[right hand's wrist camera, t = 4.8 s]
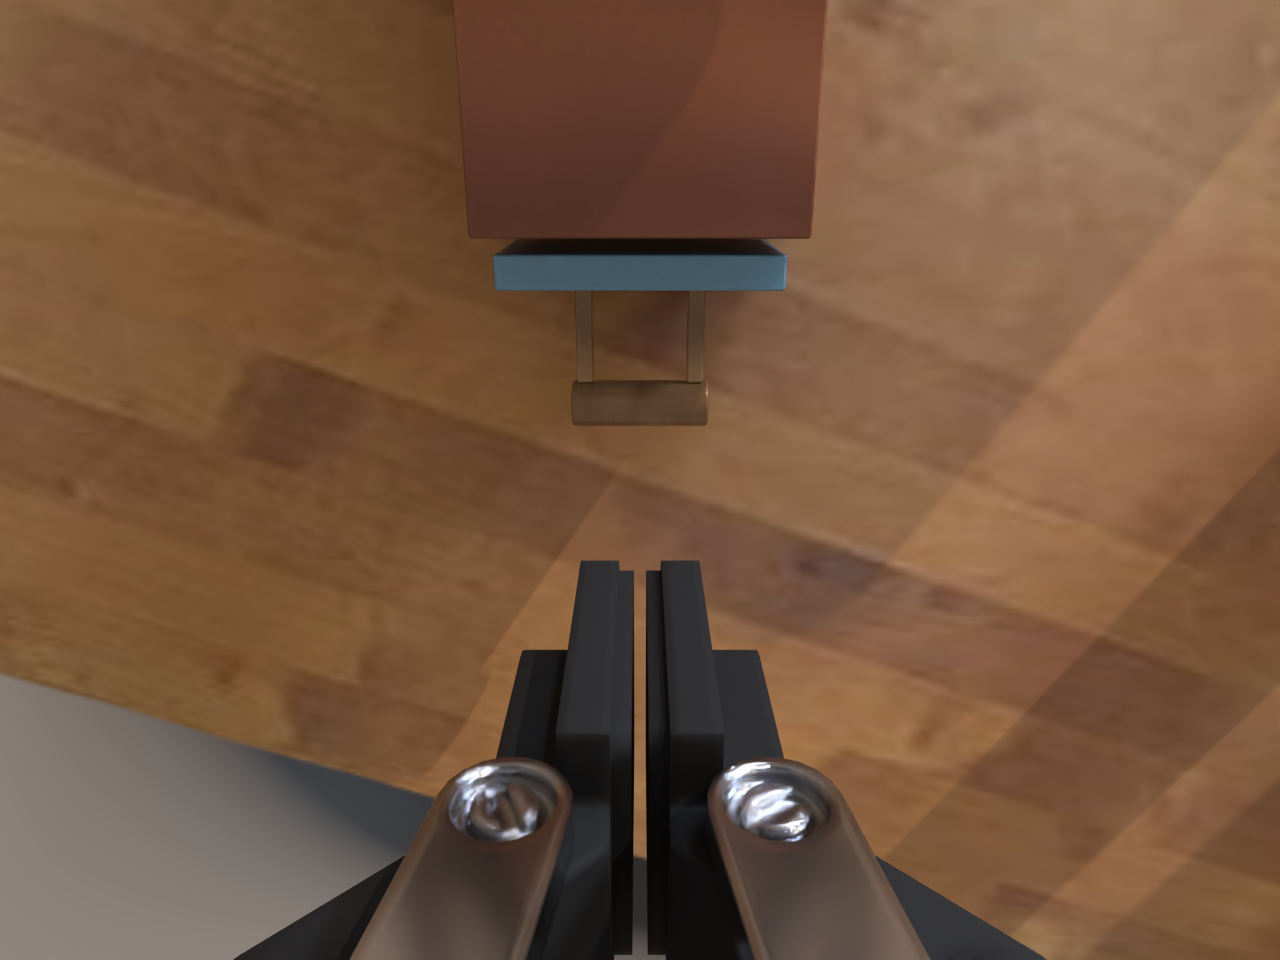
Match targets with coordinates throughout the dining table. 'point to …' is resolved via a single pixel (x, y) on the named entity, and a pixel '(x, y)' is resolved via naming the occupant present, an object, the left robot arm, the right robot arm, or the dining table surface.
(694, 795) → the right robot arm
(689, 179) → the cabinet
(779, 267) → the drawer
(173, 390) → the dining table surface
